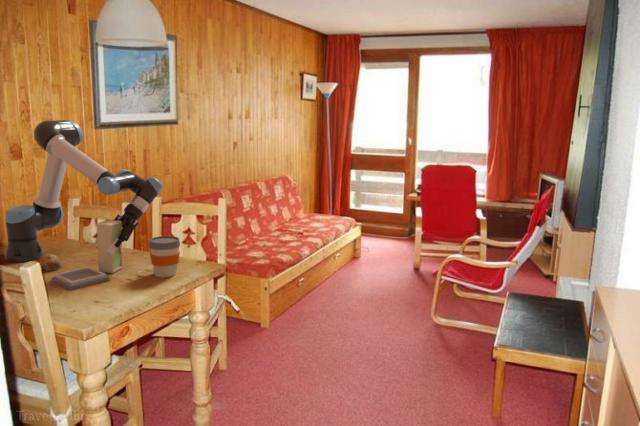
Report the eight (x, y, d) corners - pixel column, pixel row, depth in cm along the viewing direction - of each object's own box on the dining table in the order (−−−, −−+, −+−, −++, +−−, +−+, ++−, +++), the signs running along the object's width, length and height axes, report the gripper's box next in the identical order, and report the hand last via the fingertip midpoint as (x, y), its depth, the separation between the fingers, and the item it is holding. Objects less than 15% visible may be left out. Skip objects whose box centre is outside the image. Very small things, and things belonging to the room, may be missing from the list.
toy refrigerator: (114, 273, 213) (112, 225, 208) (98, 271, 214) (96, 223, 210) (125, 268, 220) (123, 220, 216) (109, 266, 222) (107, 219, 218)
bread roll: (61, 277, 218) (69, 260, 219) (37, 272, 210) (45, 254, 211) (53, 272, 224) (60, 255, 225) (29, 267, 217) (36, 249, 218)
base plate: (51, 280, 203) (50, 274, 202) (90, 271, 215) (89, 265, 215) (70, 290, 193) (69, 283, 193) (110, 280, 205) (109, 273, 205)
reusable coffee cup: (186, 274, 215) (185, 240, 212) (157, 280, 206) (156, 245, 203) (173, 267, 224) (171, 234, 221) (145, 272, 216) (143, 238, 213)
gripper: (156, 217, 218) (123, 260, 209) (128, 209, 231) (96, 250, 222) (144, 206, 213) (110, 250, 204) (116, 199, 226) (84, 240, 217)
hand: (103, 250), depth 213 cm, fingers closed on toy refrigerator, 9 cm apart
